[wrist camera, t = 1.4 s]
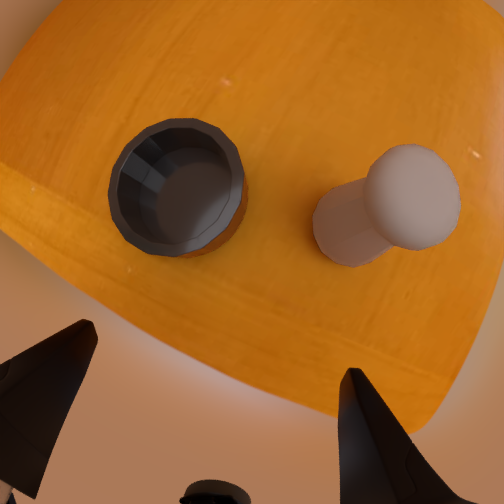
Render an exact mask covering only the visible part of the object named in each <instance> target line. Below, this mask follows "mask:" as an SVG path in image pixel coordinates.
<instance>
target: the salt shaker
mask: <svg viewBox="0 0 504 504" xmlns="http://www.w3.org/2000/svg"><path fill="white" fill-rule="evenodd" d="M460 209H461V203H460V194H459V186H458V183H457V181H456V179H455V177H454V175H453V173H452V171H451V169H450V168H449V166H448V165H447V164H446V163H445V162H444V161H443V160H442V159H441V158H440V157H439V156H438V155H437V154H436V153H435V152H434V151H433V150H430V149H428V148H425V147H422V146H420V145H417V144H408V145H399V146H395V147H393V148H390V149H389V150H388V151H386V152H385V153H384V154H383V155H382V156H381V157H379V158H378V159H377V160H376V161H375V162H374V163H373V164H372V166H371V167H370V169H369V172H368V174H367V177H365V178H362V179H359V180H356V181H353V182H350V183H347V184H344V185H341V186H338V187H335V188H333V189H331V190H330V191H329V192H328V193H327V194H325V195H324V196H323V197H322V198H321V199H320V200H319V202H318V205H317V207H316V209H315V211H314V214H313V216H312V217H313V235H314V237H315V239H316V241H317V244H318V246H319V248H320V250H321V252H322V253H324V254H325V255H326V256H328V257H329V258H330V259H331V260H333V261H334V262H335V263H337V264H341V265H346V266H350V267H357V266H361V265H364V264H367V263H370V262H372V261H373V260H375V259H376V258H378V257H379V256H381V255H382V254H383V253H385V252H386V251H388V250H389V249H391V248H392V247H393V246H398V247H401V248H405V249H409V250H416V251H419V250H422V249H425V248H428V247H431V246H434V245H437V244H439V243H441V242H443V241H444V240H445V239H446V238H447V237H448V236H449V235H450V234H451V232H452V231H453V230H454V229H455V228H456V225H457V222H458V218H459V213H460Z"/></svg>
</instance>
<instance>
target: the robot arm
mask: <svg viewBox="0 0 504 504" xmlns="http://www.w3.org/2000/svg"><path fill="white" fill-rule="evenodd" d="M97 342H98V336H97V333H96V330H95V327H94V324H93V322H91V321H89V320H86V319H81V320H79V321H77V322H76V323H74V324H72V325H70V326H68V327H67V328H65V329H63V330H61V331H59V332H58V333H56V334H54V335H52V336H50V337H49V338H47V339H45V340H43V341H41V342H39V343H38V344H36V345H34V346H33V347H30V348H29V349H27V350H25V351H23V352H22V353H20V354H18V355H16V356H14V357H13V358H12V359H9V360H7V361H6V362H4V363H2V364H0V504H16V501H15V499H14V495H13V493H12V490H13V488H15V489H17V490H18V491H20V492H22V493H23V494H25V495H27V496H29V497H31V498H32V499H35V498H36V496H37V493H38V490H39V487H40V484H41V481H42V478H43V475H44V472H45V469H46V467H47V464H48V461H49V460H48V459H49V458H50V455H51V453H52V450H53V448H54V445H55V443H56V440H57V438H58V435H59V433H60V430H61V428H62V426H63V423H64V421H65V419H66V416H67V414H68V412H69V409H70V407H71V405H72V403H73V401H74V398H75V396H76V394H77V392H78V390H79V388H80V386H81V383H82V381H83V379H84V377H85V374H86V372H87V369H88V367H89V364H90V361H91V358H92V355H93V353H94V350H95V348H96V345H97ZM338 441H339V465H340V504H477V503H474V502H470V501H467V500H465V499H462V498H460V497H459V496H457V495H456V494H455V493H454V492H453V491H452V490H451V489H450V488H449V487H448V486H447V484H445V482H444V481H443V480H442V479H441V478H440V476H438V474H437V473H436V472H435V471H434V470H433V469H432V467H431V466H430V465H429V464H428V462H427V461H426V460H425V459H424V457H423V456H422V455H421V453H420V452H419V450H418V449H417V447H416V446H415V445H414V443H412V440H411V439H410V437H409V436H408V435H407V433H406V432H405V430H404V429H403V427H402V426H401V425H400V423H399V422H398V420H397V419H396V417H395V416H394V415H393V413H392V412H391V410H390V409H389V408H388V406H387V405H386V403H385V402H384V400H383V399H382V398H381V396H380V395H379V393H378V392H377V391H376V389H375V388H374V386H373V385H372V384H371V382H370V381H369V379H368V378H367V377H366V375H365V374H364V373H363V371H362V370H361V369H360V368H348V369H347V371H346V373H345V375H344V377H343V379H342V381H341V383H340V391H339V412H338ZM229 498H230V499H229ZM179 502H180V504H238V503H237V501H236V500H235V498H234V496H232V495H220V496H205V497H181V498H180V500H179Z"/></svg>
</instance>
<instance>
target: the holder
mask: <svg viewBox="0 0 504 504" xmlns="http://www.w3.org/2000/svg"><path fill="white" fill-rule="evenodd" d="M108 200H109V205H110V211H111V216H112V220H113V222H114V223H115V225H116V226H117V228H118V229H119V231H120V233H121V234H122V236H123V237H124V239H125V240H126V241H127V242H129V243H131V244H132V245H134V246H135V247H137V248H139V249H140V250H142V251H143V252H145V253H147V254H151V255H159V256H168V257H180V258H192V257H196V256H200V255H204V254H207V253H209V252H212V251H214V250H215V249H217V248H219V247H220V246H222V245H223V244H224V243H225V242H227V241H228V240H229V239H230V238H231V237H232V235H233V234H234V233H235V232H236V230H237V229H238V227H239V226H240V224H241V222H242V220H243V218H244V215H245V212H246V208H247V202H248V184H247V180H246V176H245V172H244V169H243V166H242V163H241V160H240V156H239V153H238V150H237V147H236V146H235V145H234V144H233V142H232V141H231V140H230V139H229V138H228V137H227V136H226V135H225V134H224V133H223V132H222V131H221V130H220V128H218V127H215V126H213V125H211V124H208V123H206V122H203V121H201V120H198V119H195V118H175V119H167V120H164V121H162V122H159V123H157V124H154V125H152V126H149V127H147V128H146V129H144V130H143V131H142V132H140V133H139V134H138V135H137V136H136V137H135V138H133V139H132V140H131V141H130V142H129V143H128V144H127V145H126V146H125V147H124V149H123V151H122V152H121V154H120V156H119V158H118V159H117V161H116V163H115V165H114V166H113V169H112V173H111V178H110V184H109V189H108Z"/></svg>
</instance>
